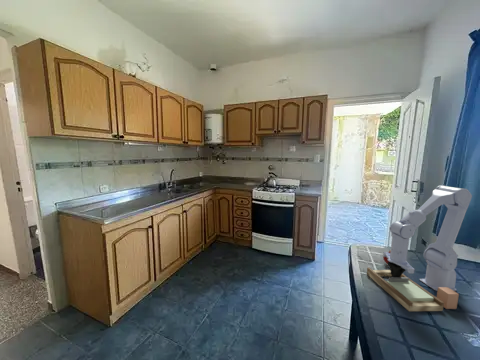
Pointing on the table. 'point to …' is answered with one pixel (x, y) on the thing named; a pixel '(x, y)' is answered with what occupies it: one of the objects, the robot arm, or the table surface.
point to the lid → (409, 289)
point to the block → (448, 297)
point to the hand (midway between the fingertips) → (395, 279)
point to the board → (409, 305)
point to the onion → (386, 258)
